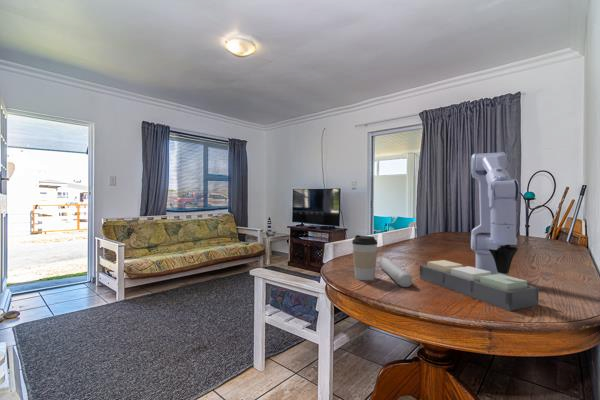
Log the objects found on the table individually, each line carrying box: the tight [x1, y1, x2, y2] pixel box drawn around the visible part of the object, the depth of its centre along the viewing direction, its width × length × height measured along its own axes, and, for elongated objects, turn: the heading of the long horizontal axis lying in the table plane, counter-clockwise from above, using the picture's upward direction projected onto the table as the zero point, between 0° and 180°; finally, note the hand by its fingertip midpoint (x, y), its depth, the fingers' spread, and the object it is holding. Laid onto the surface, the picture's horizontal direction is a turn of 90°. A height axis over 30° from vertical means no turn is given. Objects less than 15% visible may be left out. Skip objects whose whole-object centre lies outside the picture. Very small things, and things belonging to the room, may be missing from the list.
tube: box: [379, 256, 413, 288], centre depth 103 cm, size 5×5×25 cm
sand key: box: [426, 259, 464, 272], centre depth 98 cm, size 8×8×2 cm
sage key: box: [480, 274, 528, 291], centre depth 80 cm, size 8×8×2 cm
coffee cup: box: [351, 234, 378, 281], centre depth 103 cm, size 9×9×15 cm
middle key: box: [451, 265, 491, 281], centre depth 89 cm, size 8×8×2 cm
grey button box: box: [419, 264, 539, 312], centre depth 89 cm, size 11×31×5 cm, turn 19°
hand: (503, 273), depth 79 cm, fingers closed
